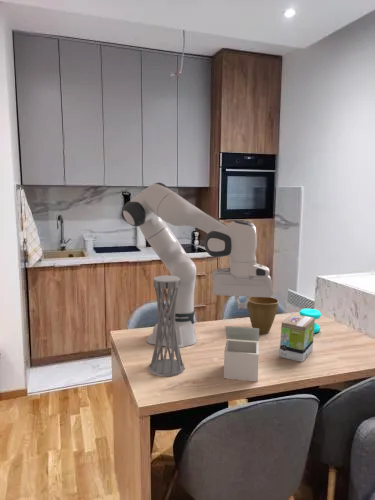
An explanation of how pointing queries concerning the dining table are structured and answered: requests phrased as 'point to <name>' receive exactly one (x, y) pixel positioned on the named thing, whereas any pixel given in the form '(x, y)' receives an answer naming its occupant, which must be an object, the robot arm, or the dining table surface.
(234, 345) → the carton
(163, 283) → the grey lattice tower
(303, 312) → the cyan rounded piece
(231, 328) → the lid flap
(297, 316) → the tea box
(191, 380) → the dining table surface
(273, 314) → the plant pot
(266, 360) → the dining table surface
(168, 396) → the dining table surface
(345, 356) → the dining table surface
